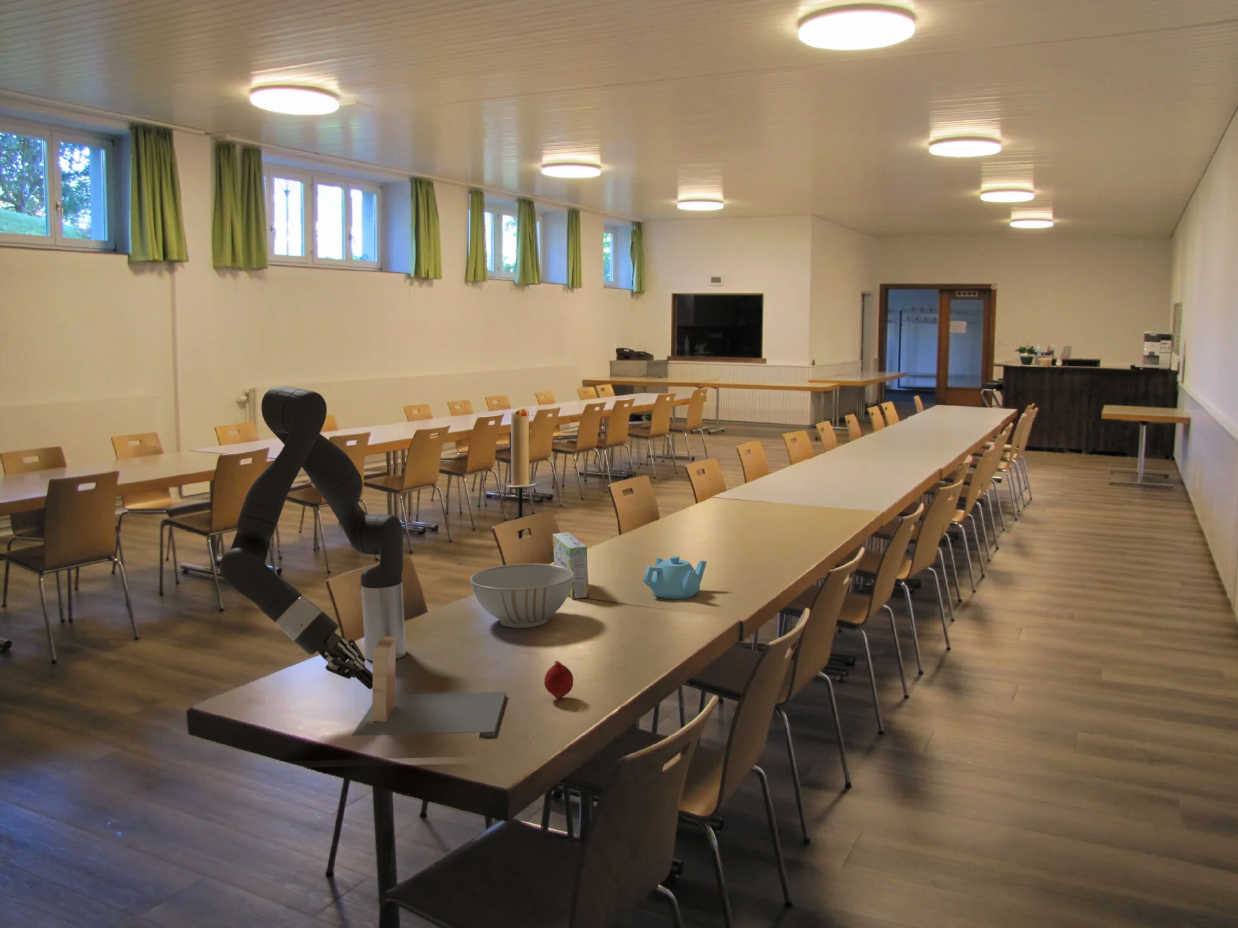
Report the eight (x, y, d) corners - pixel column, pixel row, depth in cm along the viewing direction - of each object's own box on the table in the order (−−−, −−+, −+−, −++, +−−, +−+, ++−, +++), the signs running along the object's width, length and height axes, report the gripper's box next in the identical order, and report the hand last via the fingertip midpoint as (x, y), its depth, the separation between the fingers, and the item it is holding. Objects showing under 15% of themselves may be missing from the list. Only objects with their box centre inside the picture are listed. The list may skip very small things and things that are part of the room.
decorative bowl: (527, 643, 229) (525, 594, 227) (450, 625, 245) (447, 579, 243) (596, 616, 250) (595, 571, 248) (521, 601, 266) (519, 559, 264)
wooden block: (382, 704, 188) (383, 636, 187) (395, 705, 189) (396, 636, 187) (372, 721, 181) (373, 649, 179) (385, 721, 181) (386, 650, 179)
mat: (378, 699, 195) (378, 694, 194) (506, 696, 195) (505, 691, 195) (352, 740, 175) (351, 735, 175) (494, 736, 175) (494, 731, 175)
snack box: (553, 582, 286) (551, 533, 284) (571, 580, 288) (569, 531, 286) (571, 600, 266) (569, 547, 264) (590, 598, 268) (588, 545, 266)
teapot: (657, 585, 280) (657, 549, 279) (707, 588, 275) (707, 551, 274) (641, 598, 266) (640, 561, 265) (693, 602, 261) (693, 564, 260)
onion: (574, 692, 196) (572, 655, 195) (573, 703, 190) (572, 664, 189) (545, 693, 196) (544, 656, 195) (544, 704, 190) (543, 665, 189)
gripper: (309, 621, 175) (379, 683, 177) (330, 601, 188) (395, 659, 190) (282, 649, 176) (352, 711, 178) (305, 628, 189) (370, 686, 191)
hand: (374, 684), depth 184 cm, fingers closed
